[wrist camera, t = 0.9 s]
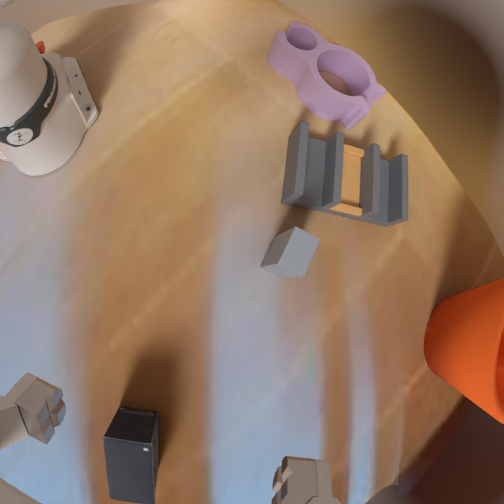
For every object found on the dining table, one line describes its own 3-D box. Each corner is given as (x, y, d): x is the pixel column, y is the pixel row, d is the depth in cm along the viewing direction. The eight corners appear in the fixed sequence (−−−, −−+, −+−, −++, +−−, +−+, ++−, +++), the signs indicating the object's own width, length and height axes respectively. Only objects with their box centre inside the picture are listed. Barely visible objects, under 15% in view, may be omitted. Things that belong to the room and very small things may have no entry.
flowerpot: (393, 401, 49) (470, 438, 30) (416, 262, 52) (503, 252, 33) (474, 392, 54) (541, 410, 35) (492, 281, 57) (563, 277, 38)
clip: (252, 66, 50) (261, 41, 43) (292, 36, 52) (304, 13, 45) (341, 139, 52) (361, 122, 45) (373, 101, 54) (392, 84, 47)
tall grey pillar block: (260, 267, 47) (277, 263, 38) (275, 236, 47) (295, 226, 39) (281, 278, 47) (303, 277, 38) (295, 247, 48) (320, 240, 39)
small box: (116, 405, 40) (100, 435, 30) (159, 410, 42) (154, 443, 31) (118, 462, 39) (107, 499, 29) (159, 468, 40) (156, 506, 30)
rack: (281, 203, 48) (294, 192, 42) (288, 137, 49) (301, 121, 43) (386, 226, 52) (407, 220, 46) (387, 166, 53) (407, 155, 47)
